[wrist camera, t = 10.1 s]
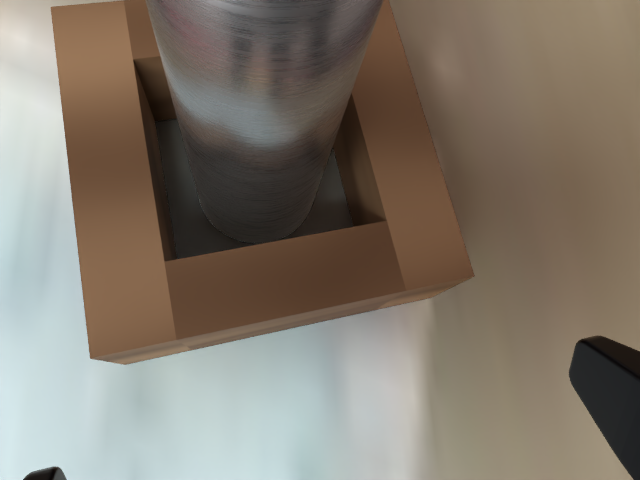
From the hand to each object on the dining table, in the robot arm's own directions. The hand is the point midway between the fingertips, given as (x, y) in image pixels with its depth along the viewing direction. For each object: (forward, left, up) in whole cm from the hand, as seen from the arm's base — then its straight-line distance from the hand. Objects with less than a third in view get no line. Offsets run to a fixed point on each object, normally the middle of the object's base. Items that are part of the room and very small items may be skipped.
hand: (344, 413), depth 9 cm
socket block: (+7, -2, -7) cm, 10 cm away
